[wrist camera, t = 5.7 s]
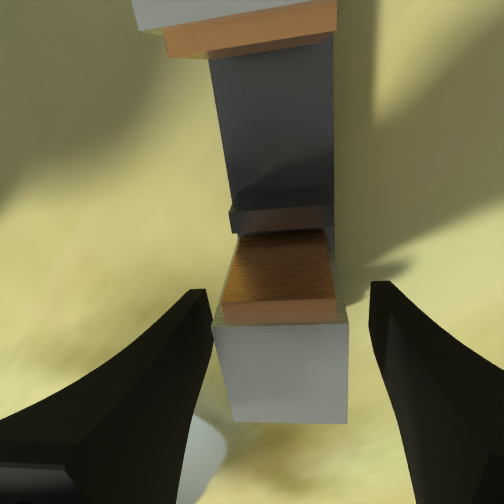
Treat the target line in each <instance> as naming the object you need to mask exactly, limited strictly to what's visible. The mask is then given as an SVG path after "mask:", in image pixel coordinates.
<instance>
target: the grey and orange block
mask: <svg viewBox="0 0 504 504" xmlns="http://www.w3.org/2000/svg"><path fill="white" fill-rule="evenodd" d="M211 331H212V335H213V339H214V343H215V347H216V351H217V354H218V358H219V362H220V366H221V370H222V374H223V378H224V382H225V386H226V390H227V394H228V398H229V402H230V406H231V410H232V414H233V418H234V422H273V423H319V424H347V409H348V354H349V321H348V317H347V312H346V307H345V303H344V298H343V293H342V289H341V284H340V280H339V275H338V270H337V266H336V261H335V257H334V252H333V247H332V243H331V238H330V234H329V229H328V227H319V228H305V229H290V230H276V231H262V232H248V233H240V234H239V237H238V241H237V244H236V247H235V250H234V254H233V257H232V260H231V263H230V266H229V270H228V273H227V276H226V279H225V282H224V286H223V289H222V292H221V295H220V299H219V302H218V305H217V308H216V311H215V315H214V318H213V321H212V324H211Z"/></svg>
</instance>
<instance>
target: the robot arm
mask: <svg viewBox="0 0 504 504" xmlns="http://www.w3.org/2000/svg"><path fill="white" fill-rule="evenodd" d="M212 321H213V318H212V314H211V309H210V305H209V301H208V297H207V293H206V289H190V290H189V291H188V292H186V293H185V294H184V295H183V296H182V297H181V298H180V299H179V300H178V301H177V302H176V303H175V304H174V305H173V306H172V307H171V308H170V309H169V310H168V311H167V312H166V313H165V314H164V315H163V316H162V317H161V318H159V319H158V320H157V321H156V322H155V323H154V324H153V325H152V326H151V327H150V328H148V329H147V330H146V331H145V332H144V333H143V334H142V335H140V336H139V337H138V338H137V339H136V340H135V341H133V342H132V343H131V344H130V345H128V346H127V347H126V348H125V349H123V350H122V351H121V352H119V353H118V354H117V355H115V356H114V357H112V358H111V359H110V360H108V361H107V362H105V363H104V364H102V365H101V366H99V367H98V368H96V369H95V370H93V371H92V372H90V373H88V374H87V375H85V376H84V377H82V378H81V379H79V380H77V381H76V382H74V383H72V384H71V385H69V386H67V387H65V388H64V389H62V390H60V391H58V392H56V393H54V394H53V395H51V396H49V397H47V398H45V399H43V400H41V401H39V402H37V403H35V404H33V405H31V406H29V407H27V408H25V409H23V410H21V411H19V412H16V413H14V414H12V415H10V416H8V417H6V418H4V419H1V420H0V504H176V499H177V493H178V486H179V480H180V475H181V470H182V464H183V459H184V453H185V448H186V443H187V438H188V434H189V429H190V424H191V420H192V416H193V412H194V409H195V405H196V402H197V399H198V396H199V393H200V389H201V386H202V383H203V380H204V377H205V374H206V370H207V367H208V364H209V360H210V357H211V353H212V348H213V342H214V339H213V335H212V331H211V324H212ZM368 327H369V332H370V337H371V342H372V346H373V351H374V354H375V357H376V360H377V363H378V366H379V369H380V372H381V375H382V378H383V381H384V384H385V386H386V389H387V392H388V395H389V398H390V401H391V404H392V407H393V410H394V412H395V416H396V419H397V422H398V426H399V430H400V434H401V438H402V442H403V446H404V451H405V455H406V459H407V463H408V468H409V472H410V477H411V481H412V485H413V490H414V494H415V499H416V504H504V370H502V369H501V368H499V367H497V366H496V365H494V364H492V363H491V362H489V361H488V360H486V359H484V358H483V357H482V356H480V355H479V354H477V353H476V352H474V351H473V350H471V349H470V348H468V347H467V346H465V345H464V344H462V343H461V342H460V341H458V340H457V339H455V338H454V337H453V336H452V335H450V334H449V333H448V332H446V331H445V330H444V329H443V328H441V327H440V326H439V325H438V324H436V323H435V322H434V321H433V320H432V319H430V318H429V317H428V316H427V315H426V314H425V313H424V312H422V311H421V310H420V309H419V308H418V307H417V306H416V305H415V304H414V303H413V302H412V301H410V300H409V299H408V298H407V297H406V296H405V295H404V294H403V293H402V292H401V291H400V290H399V289H398V288H397V287H396V286H395V285H394V284H393V283H392V282H390V281H371V289H370V306H369V324H368Z"/></svg>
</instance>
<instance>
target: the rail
mask: <svg viewBox="0 0 504 504" xmlns="http://www.w3.org/2000/svg"><path fill="white" fill-rule="evenodd" d="M131 2H132V6H133V10H134V14H135V18H136V22H137V26H138V30H139V31H140V32H145V33H149V34H154V35H159V36H164V37H165V42H166V46H167V51H168V56H169V57H173V58H193V59H208V61H209V67H210V73H211V79H212V85H213V91H214V97H215V103H216V109H217V115H218V121H219V126H220V132H221V138H222V144H223V150H224V156H225V162H226V168H227V174H228V180H229V186H230V192H231V198H232V206H231V208H230V210H229V219H230V225H231V230H232V234H233V233H237V234H238V237H239V234H240V233H248V232H262V231H276V230H290V229H305V228H319V227H328V229H329V234H330V238H331V243H332V247H333V252H334V257H335V244H334V128H333V33H334V32H335V31H336V30H337V15H338V14H339V12H340V11H341V10H342V9H343V8H344V7H345V6H346V5H347V4H348V3H349V2H350V0H131Z"/></svg>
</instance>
